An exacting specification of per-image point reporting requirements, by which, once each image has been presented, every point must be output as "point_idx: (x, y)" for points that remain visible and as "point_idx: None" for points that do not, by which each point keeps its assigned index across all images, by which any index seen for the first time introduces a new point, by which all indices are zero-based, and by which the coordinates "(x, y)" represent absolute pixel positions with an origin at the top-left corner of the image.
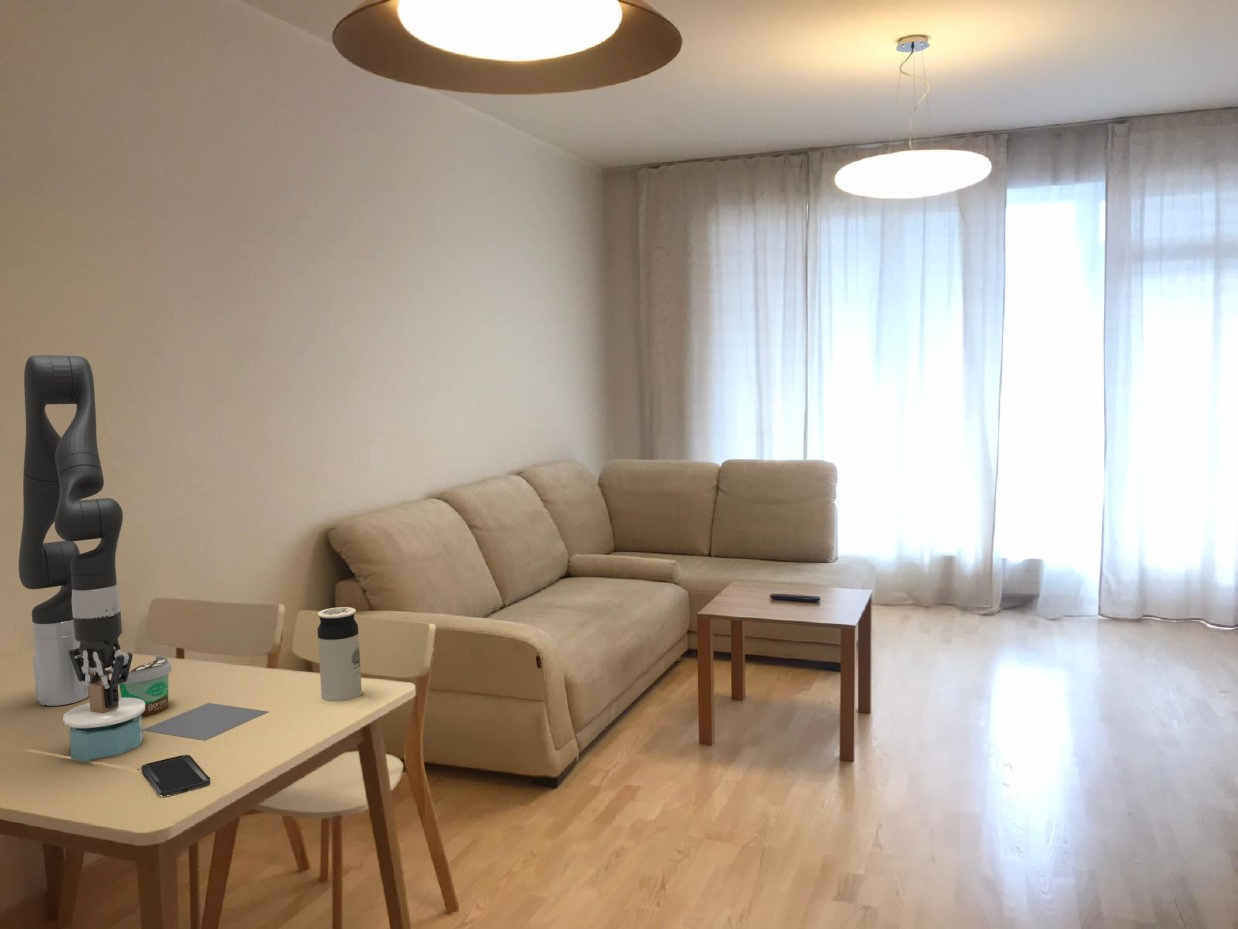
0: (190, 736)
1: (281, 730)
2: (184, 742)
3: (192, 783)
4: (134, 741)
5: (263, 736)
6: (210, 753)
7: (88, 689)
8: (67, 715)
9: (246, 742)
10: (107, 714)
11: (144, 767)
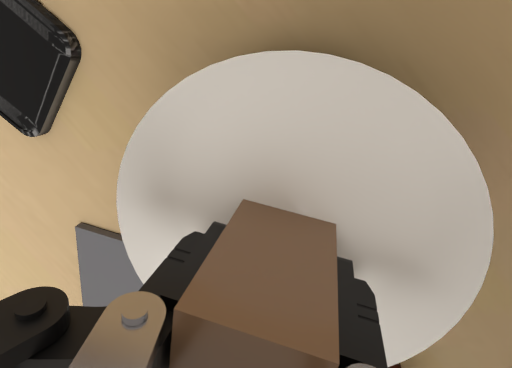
0: (125, 249)
1: (10, 287)
2: None
3: None
4: None
5: (13, 261)
6: (25, 171)
7: (380, 352)
8: (443, 159)
9: (14, 232)
10: (210, 188)
11: (57, 35)
